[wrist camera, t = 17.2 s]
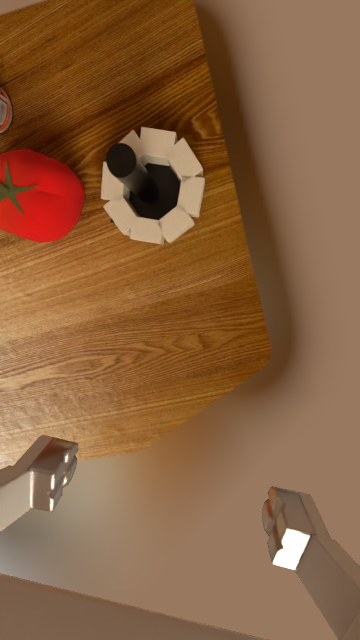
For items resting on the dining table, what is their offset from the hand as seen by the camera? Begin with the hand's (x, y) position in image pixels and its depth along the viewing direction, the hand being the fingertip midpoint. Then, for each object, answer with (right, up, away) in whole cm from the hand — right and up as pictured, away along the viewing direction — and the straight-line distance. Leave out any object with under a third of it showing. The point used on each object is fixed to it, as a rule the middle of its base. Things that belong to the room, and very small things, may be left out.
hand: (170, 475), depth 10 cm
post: (-4, +25, +26) cm, 36 cm away
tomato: (-18, +24, +28) cm, 41 cm away
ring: (-3, +24, +25) cm, 35 cm away
